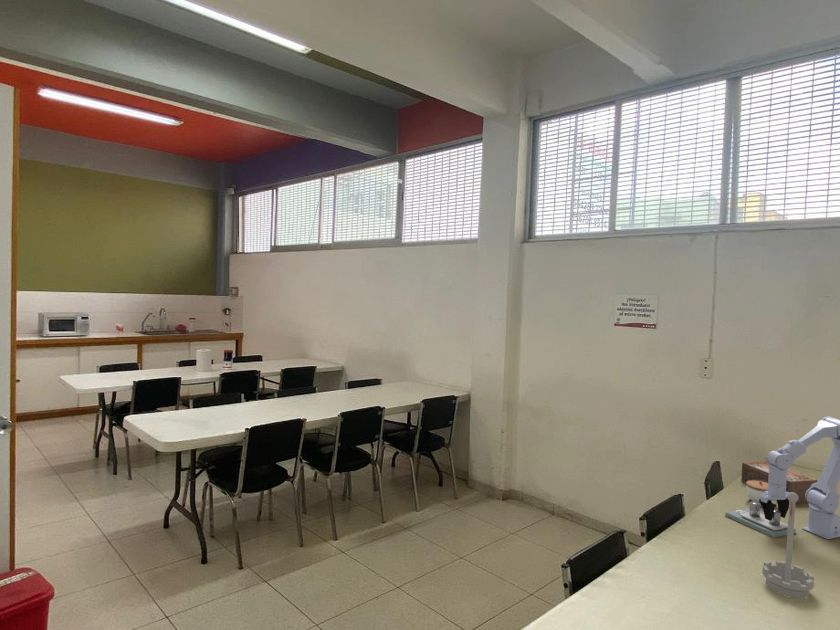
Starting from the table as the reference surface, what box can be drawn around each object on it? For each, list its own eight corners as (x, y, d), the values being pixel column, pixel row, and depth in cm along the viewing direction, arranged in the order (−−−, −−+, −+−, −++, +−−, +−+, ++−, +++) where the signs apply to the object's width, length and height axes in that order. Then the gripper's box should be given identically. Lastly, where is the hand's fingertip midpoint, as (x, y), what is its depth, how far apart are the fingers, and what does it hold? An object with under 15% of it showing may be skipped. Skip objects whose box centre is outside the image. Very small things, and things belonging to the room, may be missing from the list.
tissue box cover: (741, 482, 255) (742, 462, 255) (766, 481, 258) (767, 461, 258) (788, 504, 230) (790, 481, 230) (816, 502, 233) (817, 480, 233)
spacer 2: (782, 525, 202) (783, 512, 202) (775, 526, 201) (775, 513, 201) (773, 521, 205) (774, 508, 205) (766, 522, 204) (767, 509, 204)
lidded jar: (780, 507, 226) (781, 486, 225) (754, 506, 226) (755, 485, 226) (764, 497, 237) (765, 477, 236) (740, 496, 237) (741, 476, 236)
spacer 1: (762, 517, 209) (762, 504, 209) (754, 517, 208) (755, 505, 208) (754, 513, 213) (754, 501, 212) (747, 514, 212) (747, 501, 211)
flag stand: (764, 572, 172) (770, 481, 171) (814, 587, 164) (820, 492, 163) (758, 589, 162) (764, 492, 161) (811, 606, 154) (818, 504, 153)
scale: (795, 533, 202) (795, 526, 202) (774, 537, 197) (774, 531, 197) (745, 512, 220) (746, 505, 220) (725, 515, 216) (725, 509, 216)
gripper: (779, 477, 209) (777, 511, 209) (753, 481, 203) (751, 516, 204) (798, 483, 202) (795, 518, 203) (772, 488, 197) (770, 524, 197)
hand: (775, 518), depth 203 cm, fingers open, 7 cm apart
